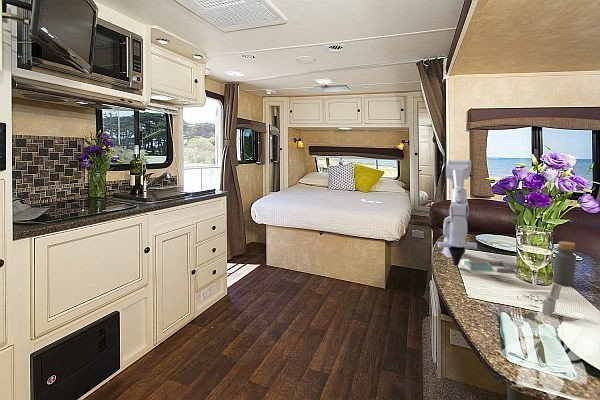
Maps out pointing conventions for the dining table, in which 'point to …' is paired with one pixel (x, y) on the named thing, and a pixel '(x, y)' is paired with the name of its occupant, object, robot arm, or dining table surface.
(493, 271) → the board
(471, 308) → the dining table surface
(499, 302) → the dining table surface
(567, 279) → the bottle
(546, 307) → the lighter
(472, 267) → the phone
